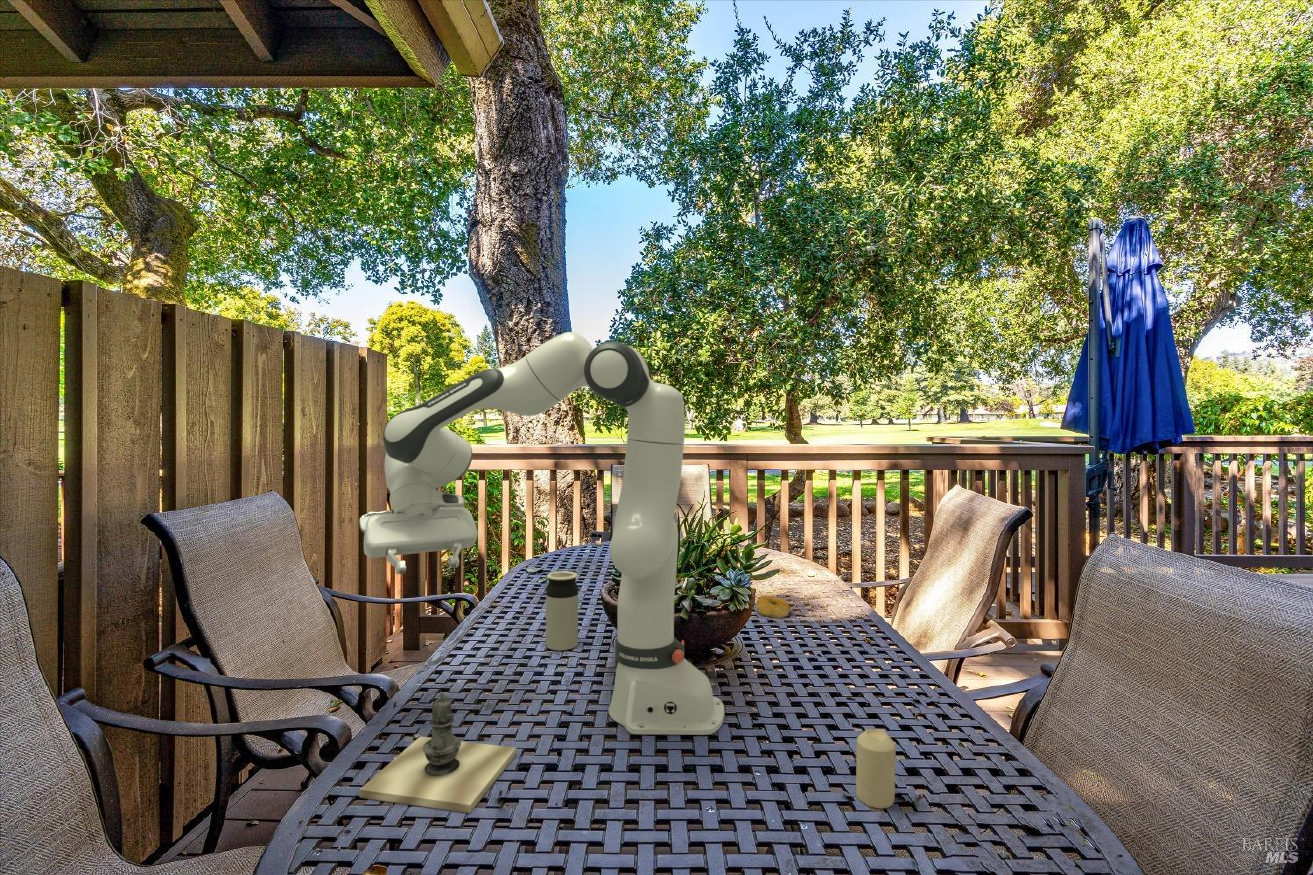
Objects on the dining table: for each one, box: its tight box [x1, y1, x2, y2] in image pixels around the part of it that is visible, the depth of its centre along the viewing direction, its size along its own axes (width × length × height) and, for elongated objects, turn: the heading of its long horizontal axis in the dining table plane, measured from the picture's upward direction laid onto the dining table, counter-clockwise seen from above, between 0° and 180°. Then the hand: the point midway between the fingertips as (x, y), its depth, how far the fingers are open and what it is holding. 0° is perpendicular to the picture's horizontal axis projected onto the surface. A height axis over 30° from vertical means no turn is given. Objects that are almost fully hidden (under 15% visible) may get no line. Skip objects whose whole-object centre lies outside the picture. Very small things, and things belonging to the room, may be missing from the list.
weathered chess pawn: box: [423, 692, 462, 776], centre depth 99 cm, size 6×6×12 cm
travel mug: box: [545, 570, 579, 652], centre depth 156 cm, size 8×8×18 cm
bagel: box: [755, 595, 791, 619], centre depth 184 cm, size 10×11×5 cm
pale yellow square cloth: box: [358, 736, 517, 814], centre depth 99 cm, size 18×16×1 cm
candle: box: [855, 728, 897, 809], centre depth 94 cm, size 6×6×10 cm
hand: (428, 568), depth 114 cm, fingers open, 8 cm apart
